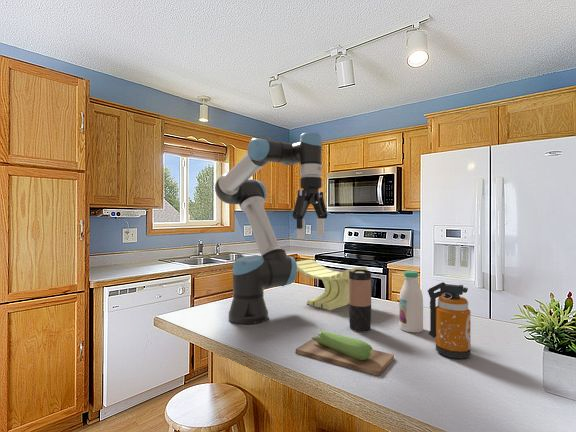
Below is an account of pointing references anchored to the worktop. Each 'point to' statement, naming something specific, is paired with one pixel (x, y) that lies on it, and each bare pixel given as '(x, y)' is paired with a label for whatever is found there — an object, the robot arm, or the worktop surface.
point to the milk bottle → (411, 304)
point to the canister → (450, 320)
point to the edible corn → (345, 345)
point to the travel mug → (360, 300)
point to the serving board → (347, 358)
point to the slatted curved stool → (328, 284)
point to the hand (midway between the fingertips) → (311, 237)
